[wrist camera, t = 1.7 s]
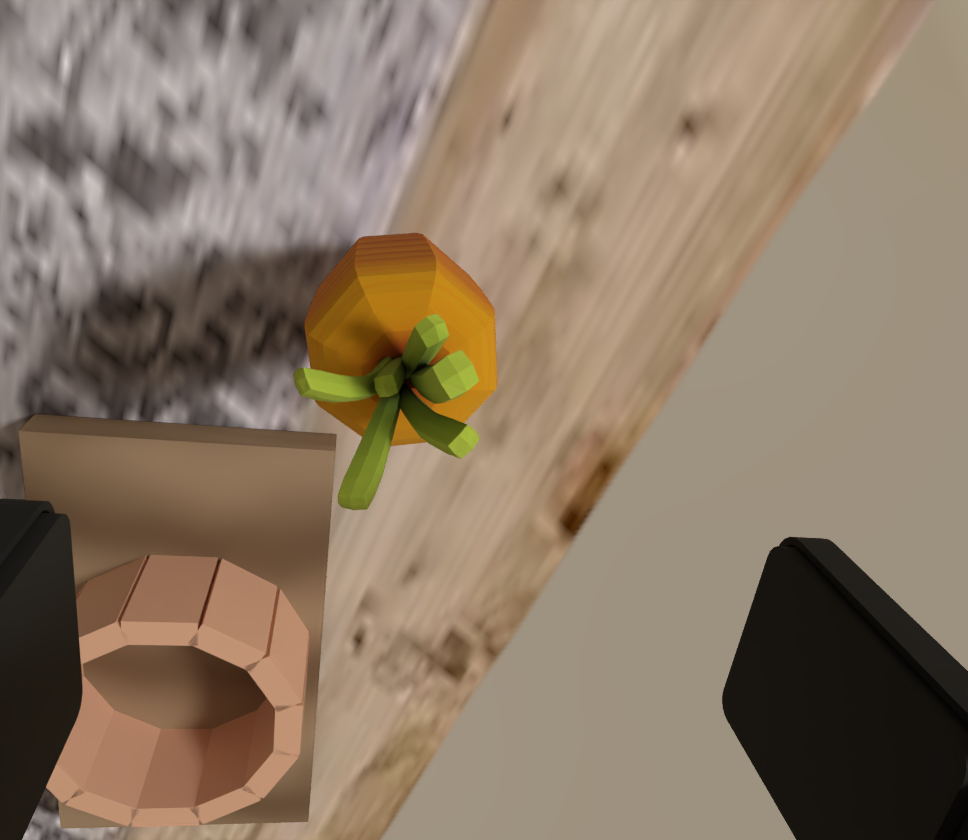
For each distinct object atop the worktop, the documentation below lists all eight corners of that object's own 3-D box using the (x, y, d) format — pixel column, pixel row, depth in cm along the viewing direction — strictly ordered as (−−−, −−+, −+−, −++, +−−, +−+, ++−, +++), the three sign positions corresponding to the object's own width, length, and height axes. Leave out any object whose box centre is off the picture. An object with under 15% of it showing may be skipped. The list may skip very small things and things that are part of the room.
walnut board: (35, 413, 28) (18, 431, 27) (336, 434, 30) (335, 451, 29) (72, 800, 36) (61, 828, 34) (310, 795, 38) (308, 821, 36)
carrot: (363, 351, 29) (363, 591, 15) (295, 233, 27) (225, 390, 13) (480, 293, 29) (584, 485, 15) (420, 169, 26) (479, 263, 13)
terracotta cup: (45, 551, 29) (-1, 618, 25) (314, 560, 31) (308, 625, 27) (64, 746, 33) (27, 830, 29) (302, 744, 34) (295, 822, 31)
